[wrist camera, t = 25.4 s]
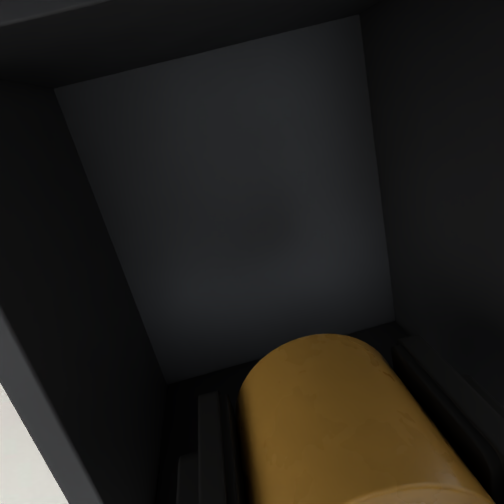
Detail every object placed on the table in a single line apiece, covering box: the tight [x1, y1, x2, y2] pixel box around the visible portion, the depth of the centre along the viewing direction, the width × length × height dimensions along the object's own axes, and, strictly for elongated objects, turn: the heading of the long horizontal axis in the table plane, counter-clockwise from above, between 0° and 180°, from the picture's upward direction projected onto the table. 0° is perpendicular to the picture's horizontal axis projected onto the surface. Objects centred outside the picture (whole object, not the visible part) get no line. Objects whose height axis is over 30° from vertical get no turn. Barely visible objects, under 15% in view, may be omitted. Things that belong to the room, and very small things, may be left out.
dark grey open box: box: [0, 0, 504, 504], centre depth 14 cm, size 16×14×10 cm
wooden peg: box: [235, 334, 496, 504], centre depth 9 cm, size 4×4×4 cm
